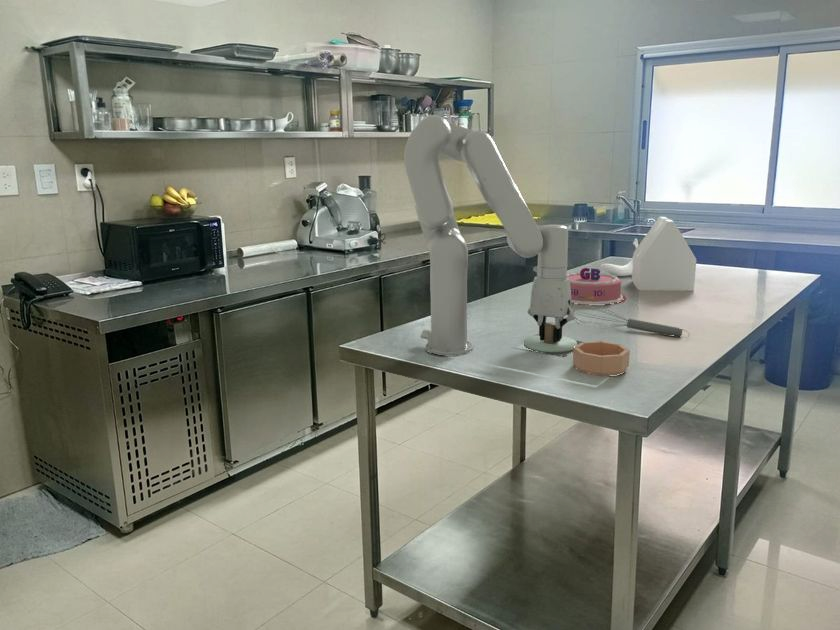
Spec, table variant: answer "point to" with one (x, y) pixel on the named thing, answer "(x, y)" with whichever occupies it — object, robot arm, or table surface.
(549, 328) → the lid
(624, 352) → the bowl
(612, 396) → the table surface
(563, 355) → the mat
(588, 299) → the cake
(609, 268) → the white curved piece
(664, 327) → the kitchen whisk
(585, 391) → the table surface
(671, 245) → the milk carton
